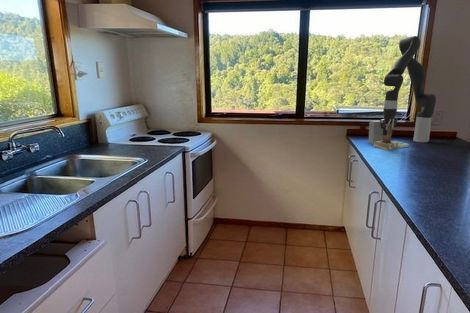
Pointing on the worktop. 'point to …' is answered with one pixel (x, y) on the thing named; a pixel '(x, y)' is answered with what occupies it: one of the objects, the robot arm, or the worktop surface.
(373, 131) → the skincare box
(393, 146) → the pocket block
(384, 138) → the dowel
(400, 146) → the tray
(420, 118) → the robot arm
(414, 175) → the worktop surface
